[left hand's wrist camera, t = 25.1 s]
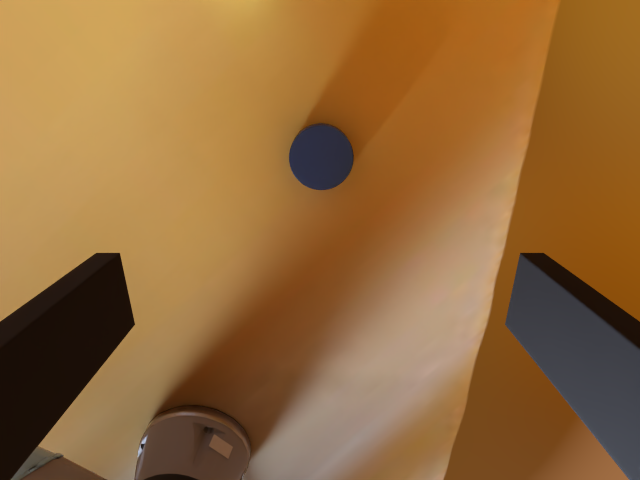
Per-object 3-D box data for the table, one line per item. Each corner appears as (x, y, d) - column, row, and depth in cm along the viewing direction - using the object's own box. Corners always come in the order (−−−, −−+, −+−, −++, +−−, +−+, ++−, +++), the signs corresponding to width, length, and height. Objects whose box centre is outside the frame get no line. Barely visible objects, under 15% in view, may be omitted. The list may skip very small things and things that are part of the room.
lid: (290, 183, 40) (288, 188, 38) (291, 122, 38) (289, 123, 36) (349, 185, 40) (351, 191, 38) (353, 124, 38) (355, 126, 36)
